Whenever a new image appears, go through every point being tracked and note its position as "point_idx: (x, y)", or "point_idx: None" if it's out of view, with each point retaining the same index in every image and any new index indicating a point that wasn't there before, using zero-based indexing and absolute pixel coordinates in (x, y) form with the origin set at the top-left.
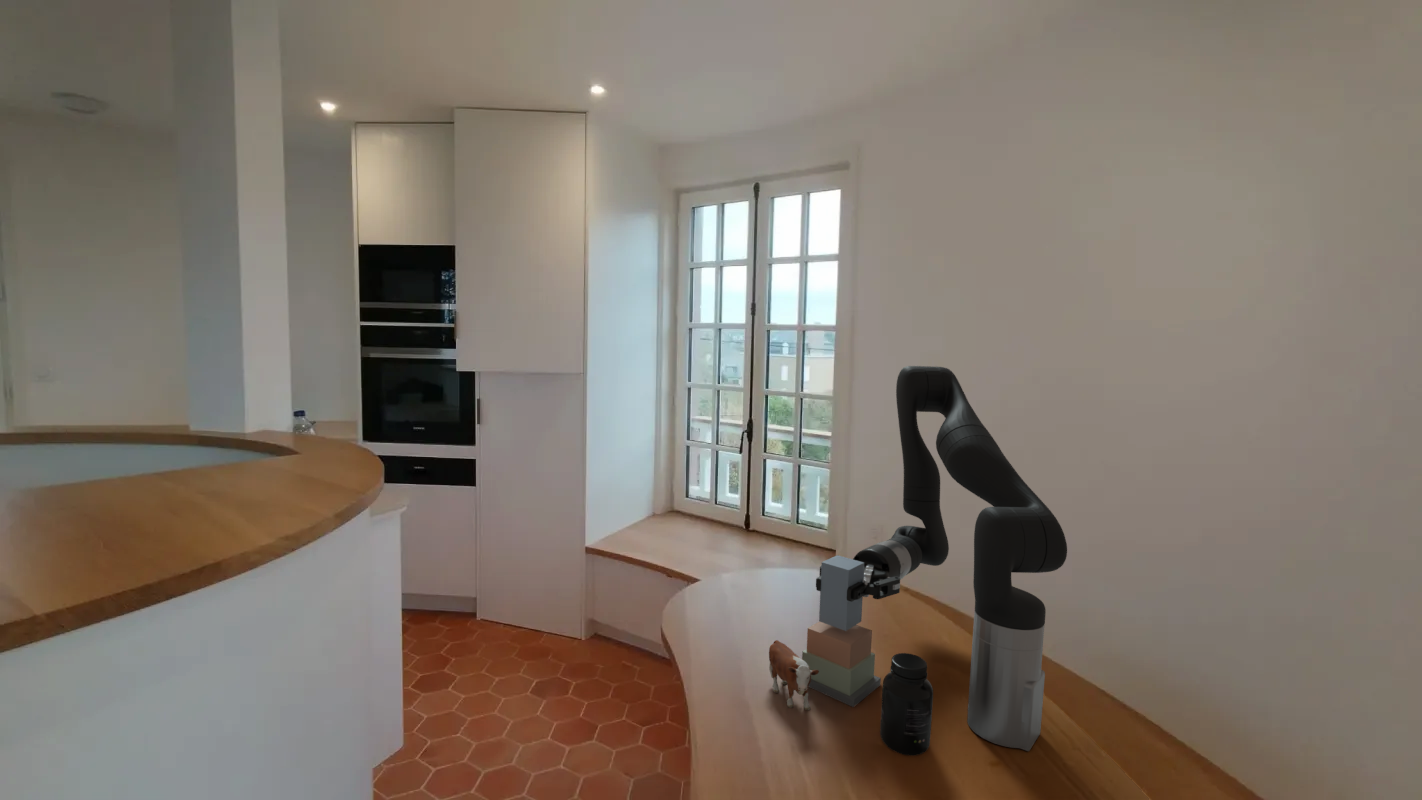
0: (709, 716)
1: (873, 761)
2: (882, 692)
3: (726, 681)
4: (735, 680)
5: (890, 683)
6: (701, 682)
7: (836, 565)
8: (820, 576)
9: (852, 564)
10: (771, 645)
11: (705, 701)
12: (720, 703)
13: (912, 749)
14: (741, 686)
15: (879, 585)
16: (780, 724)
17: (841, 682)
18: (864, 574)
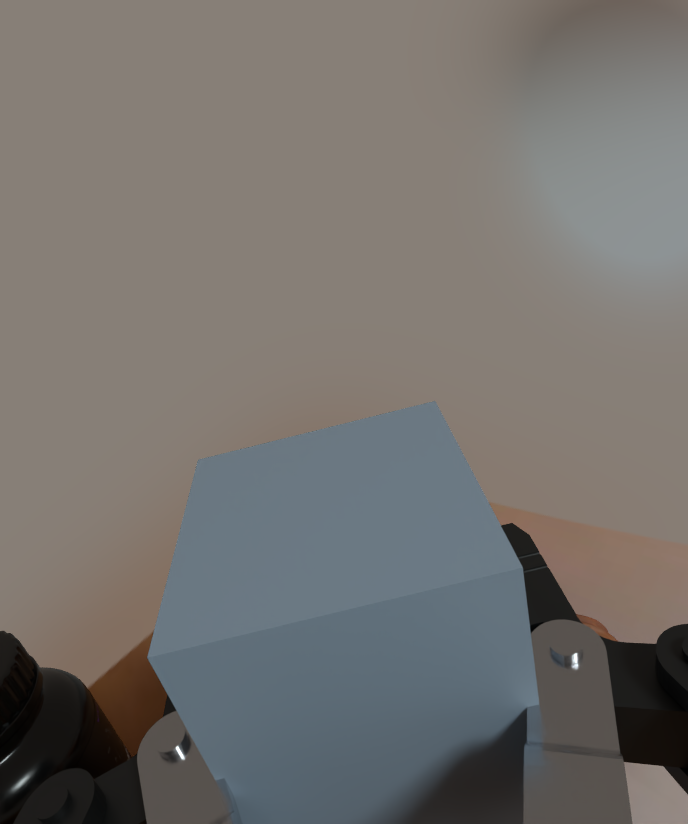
0: (508, 523)
1: (151, 714)
2: (100, 708)
3: (657, 612)
4: (655, 636)
5: (50, 671)
6: (673, 558)
7: (314, 439)
8: (542, 568)
9: (228, 533)
10: (591, 618)
11: (571, 536)
12: (547, 557)
13: None
14: (610, 634)
15: (34, 800)
16: None
17: None
18: (219, 821)
